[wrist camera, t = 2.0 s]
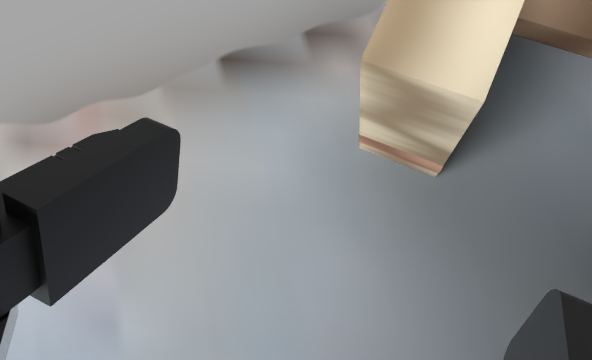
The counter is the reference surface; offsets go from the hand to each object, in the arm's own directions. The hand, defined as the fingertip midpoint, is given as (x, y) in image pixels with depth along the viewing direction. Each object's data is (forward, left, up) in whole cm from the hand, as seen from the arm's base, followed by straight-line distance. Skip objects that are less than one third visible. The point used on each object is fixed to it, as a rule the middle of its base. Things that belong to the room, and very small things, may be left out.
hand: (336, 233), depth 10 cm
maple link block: (0, -9, -16) cm, 18 cm away
